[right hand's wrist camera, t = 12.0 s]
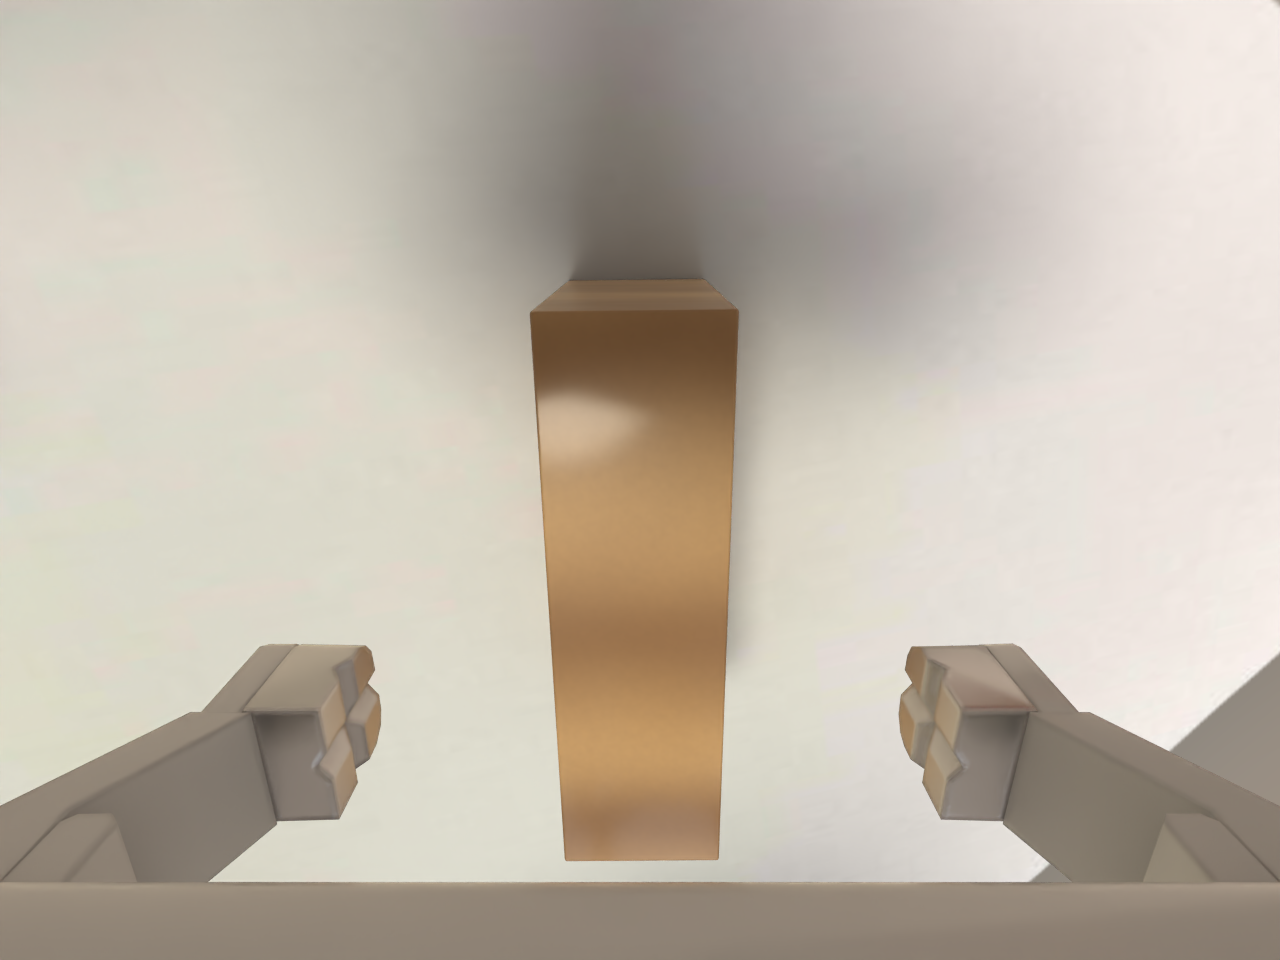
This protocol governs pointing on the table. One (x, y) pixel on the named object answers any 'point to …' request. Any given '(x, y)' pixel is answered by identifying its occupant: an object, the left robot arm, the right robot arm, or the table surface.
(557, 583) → the box
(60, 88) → the table surface
